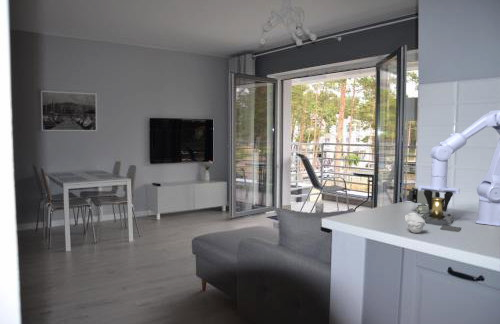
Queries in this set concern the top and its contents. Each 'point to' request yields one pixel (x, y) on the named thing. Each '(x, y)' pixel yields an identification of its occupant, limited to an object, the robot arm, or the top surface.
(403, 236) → the top surface
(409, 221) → the white lumpy ball
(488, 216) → the robot arm
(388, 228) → the top surface
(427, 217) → the housing
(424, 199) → the pneumatic valve
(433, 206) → the gold metal cylinder
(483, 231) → the top surface
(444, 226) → the mat
